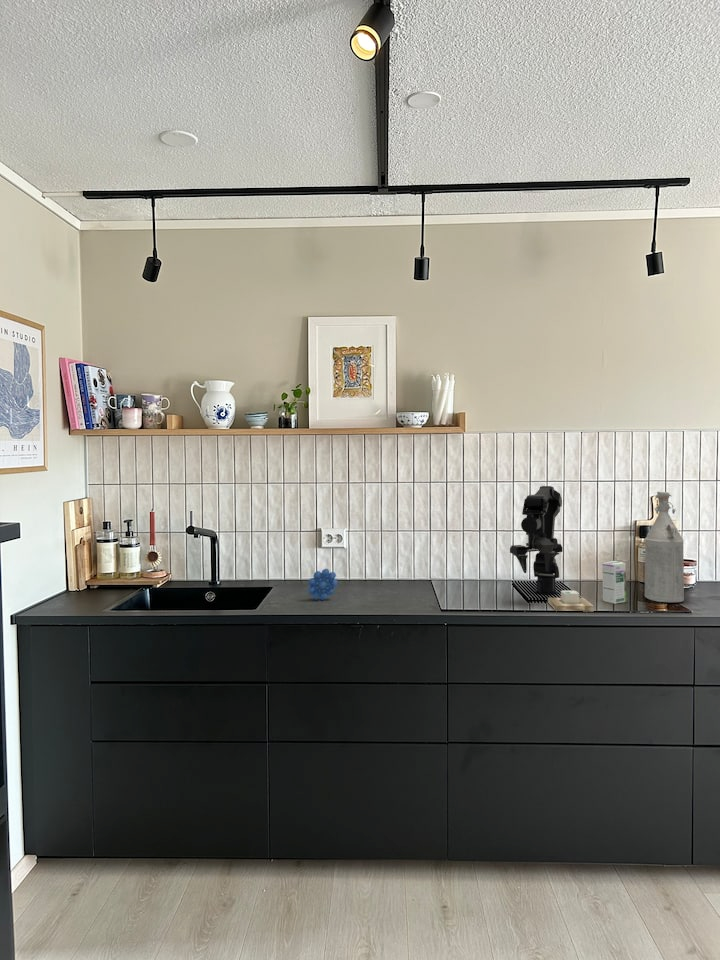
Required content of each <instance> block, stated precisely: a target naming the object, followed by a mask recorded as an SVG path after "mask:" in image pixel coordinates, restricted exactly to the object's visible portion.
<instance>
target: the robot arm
mask: <svg viewBox="0 0 720 960" xmlns="http://www.w3.org/2000/svg"><path fill="white" fill-rule="evenodd" d="M562 507H563V499H562V495H561V493H560V492H559V491H557V490H556V489H555V488H554V486H552V485H541V486H539V489H537V491H536V492H535V494H529V495H527V496H526V497H525V498H524V501H523V508H522V513H521V514H522V515H524V516H526V517H524V518H523V519H522V521H521V523H520V527H521V529H522V530H523V532H525V535H527V542H526V543H525V546H524V545H521V544H516V545H515V544H513V545H510V548H509V554H512V556H515V557H516V559H517V560H518V562H519V564H520V566H521V570H522V571H523V573H524V574H527V572H528V568H527V567H528V565H527V559H528V557H529V555H528V554H527V553H531V552H533V553H534V552H536V554H535V560H534V562H533V567H532V569H533V575H534V576H533V577H535V578H536V589H535V590H534V592H535V591H536V592H537V593H538V594H542V595H551V594H552V595H553V594H559V591H557V590H556V589H557V588H556V586H557V585H556V584H557V583H556V579H559V578H560V569H559V566H558V563H557V559H556V556H558V555H560V553H562V552H563V549H564V548H563V546H562V544H561V543H558V539H557V538H556V537H554V535H555V525H556V517H557V516H558V515H559V514H560V511H561V508H562ZM536 592H535V593H536Z"/></svg>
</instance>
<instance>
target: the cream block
mask: <svg viewBox="0 0 720 960" xmlns="http://www.w3.org/2000/svg"><path fill="white" fill-rule="evenodd" d="M560 598H561V602H562V603H563V604H579V598H580V593H579V592H578V591H576V590H560Z"/></svg>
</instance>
